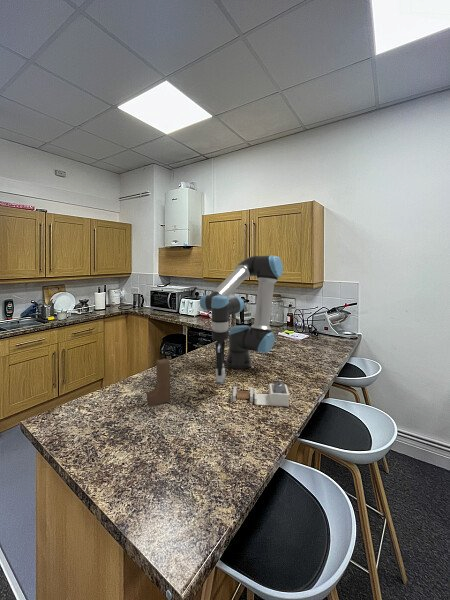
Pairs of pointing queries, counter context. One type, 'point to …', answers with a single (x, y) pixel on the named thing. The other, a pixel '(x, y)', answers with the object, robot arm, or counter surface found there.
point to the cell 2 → (279, 387)
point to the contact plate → (243, 394)
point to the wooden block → (161, 384)
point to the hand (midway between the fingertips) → (220, 379)
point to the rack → (272, 397)
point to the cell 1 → (223, 377)
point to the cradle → (250, 394)
